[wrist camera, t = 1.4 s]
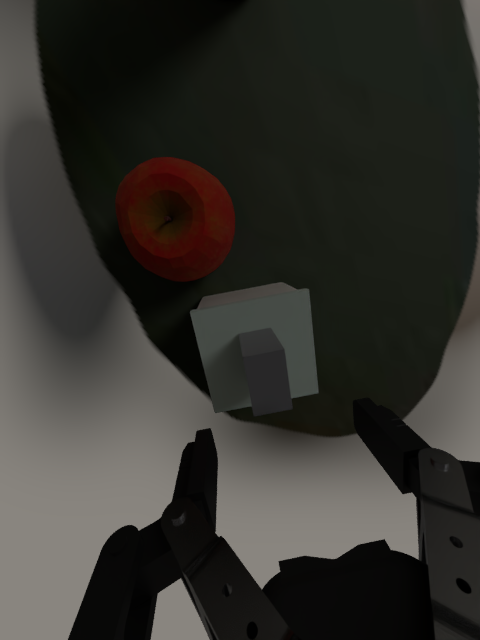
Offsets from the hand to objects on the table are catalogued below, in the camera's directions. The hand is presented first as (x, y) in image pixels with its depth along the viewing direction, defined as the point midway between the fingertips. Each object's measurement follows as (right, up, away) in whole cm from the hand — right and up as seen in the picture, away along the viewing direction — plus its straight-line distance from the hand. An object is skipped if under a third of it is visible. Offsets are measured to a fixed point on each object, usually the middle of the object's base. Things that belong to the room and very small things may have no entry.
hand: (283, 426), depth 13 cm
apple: (-8, +16, +14) cm, 23 cm away
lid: (-1, +3, +11) cm, 12 cm away
